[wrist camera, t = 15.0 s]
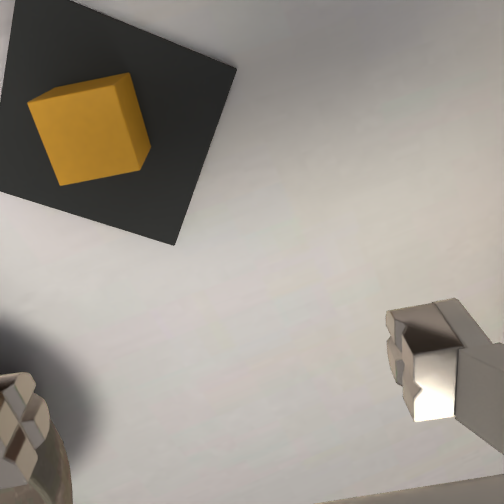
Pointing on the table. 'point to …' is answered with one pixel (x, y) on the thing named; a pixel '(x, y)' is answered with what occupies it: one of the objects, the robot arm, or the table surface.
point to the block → (92, 128)
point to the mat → (150, 102)
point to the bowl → (45, 476)
